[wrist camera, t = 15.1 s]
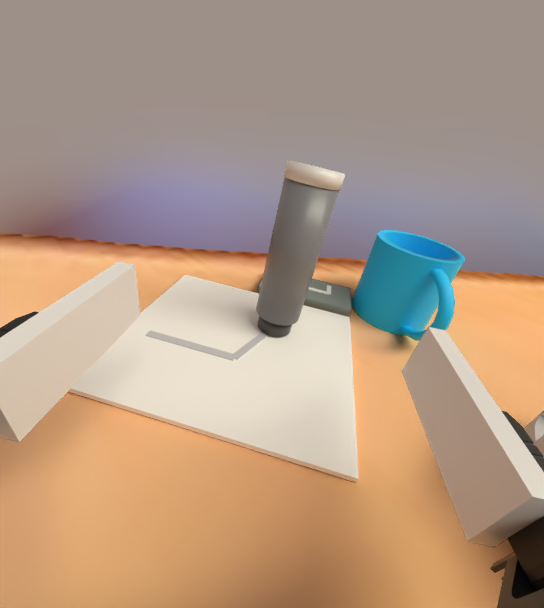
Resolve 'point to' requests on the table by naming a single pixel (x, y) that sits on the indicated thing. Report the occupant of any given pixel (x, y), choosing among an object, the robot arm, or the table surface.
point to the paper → (236, 375)
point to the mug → (407, 284)
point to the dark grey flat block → (327, 297)
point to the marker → (295, 244)
